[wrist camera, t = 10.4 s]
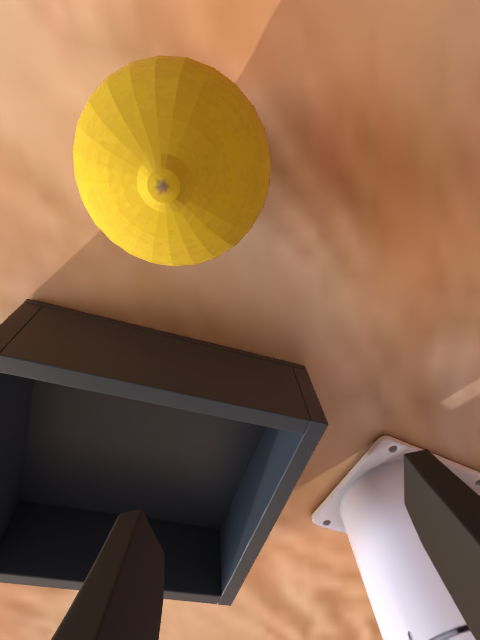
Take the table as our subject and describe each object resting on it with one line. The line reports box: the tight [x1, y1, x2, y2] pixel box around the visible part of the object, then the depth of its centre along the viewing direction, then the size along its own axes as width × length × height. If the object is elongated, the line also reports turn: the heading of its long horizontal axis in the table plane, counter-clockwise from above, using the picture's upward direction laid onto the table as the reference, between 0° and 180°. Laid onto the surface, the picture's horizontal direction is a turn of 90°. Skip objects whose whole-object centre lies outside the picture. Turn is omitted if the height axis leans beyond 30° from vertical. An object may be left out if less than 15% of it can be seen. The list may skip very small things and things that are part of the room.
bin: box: [0, 299, 328, 606], centre depth 19 cm, size 14×14×4 cm
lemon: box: [73, 56, 270, 266], centre depth 11 cm, size 6×6×8 cm
